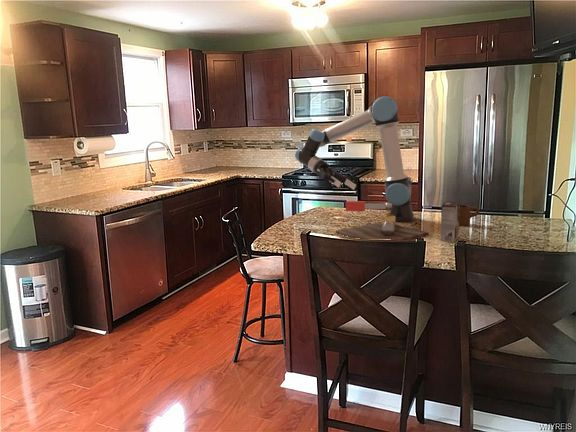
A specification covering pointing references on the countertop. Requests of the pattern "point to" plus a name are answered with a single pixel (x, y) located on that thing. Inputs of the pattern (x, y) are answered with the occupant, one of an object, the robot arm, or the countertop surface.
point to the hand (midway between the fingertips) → (347, 186)
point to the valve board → (375, 232)
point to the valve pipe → (388, 224)
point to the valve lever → (365, 206)
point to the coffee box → (450, 221)
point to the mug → (466, 214)
